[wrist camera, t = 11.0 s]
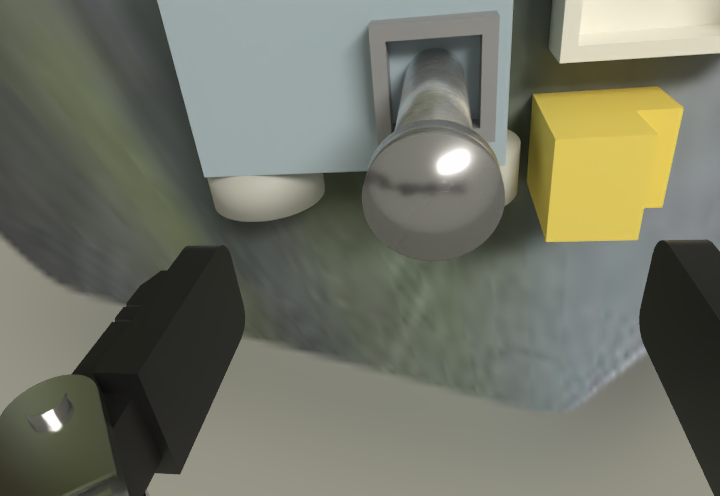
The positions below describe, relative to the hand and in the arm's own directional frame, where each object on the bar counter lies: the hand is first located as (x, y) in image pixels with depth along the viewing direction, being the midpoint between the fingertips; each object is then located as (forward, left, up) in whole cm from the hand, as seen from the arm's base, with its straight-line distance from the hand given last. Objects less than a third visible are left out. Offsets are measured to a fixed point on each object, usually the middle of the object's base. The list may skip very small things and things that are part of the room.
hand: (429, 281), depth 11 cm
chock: (+8, -5, -20) cm, 22 cm away
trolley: (-4, 0, -20) cm, 20 cm away
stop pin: (0, 0, -14) cm, 14 cm away
